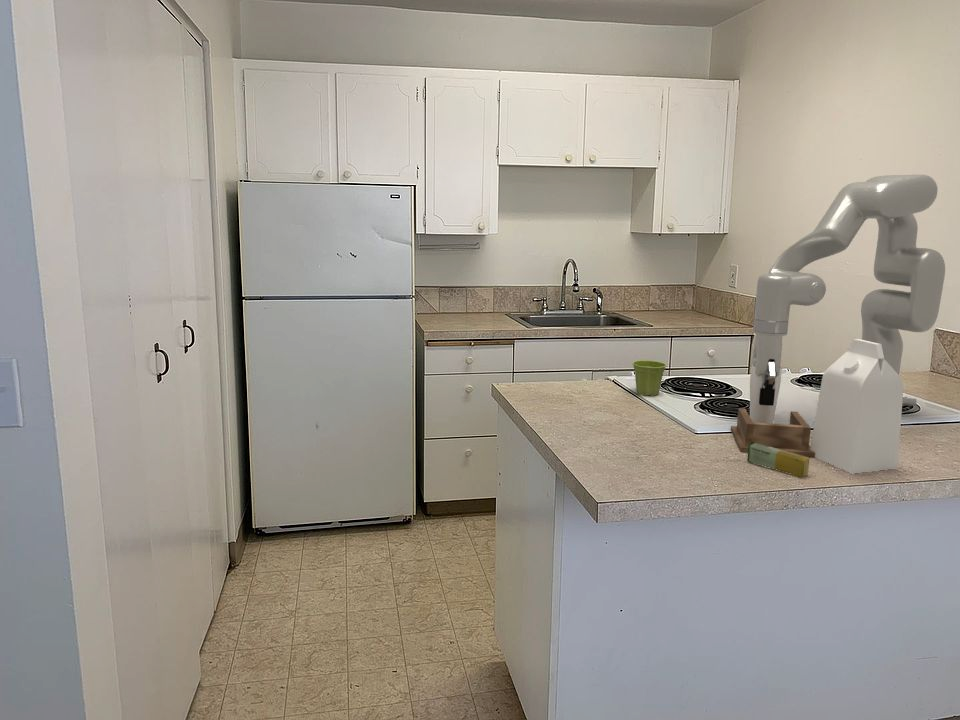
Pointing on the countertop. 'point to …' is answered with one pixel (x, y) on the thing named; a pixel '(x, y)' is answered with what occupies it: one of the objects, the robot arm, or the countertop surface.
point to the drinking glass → (756, 410)
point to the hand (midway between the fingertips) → (763, 400)
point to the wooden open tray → (773, 434)
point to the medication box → (778, 459)
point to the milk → (859, 411)
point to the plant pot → (648, 376)
